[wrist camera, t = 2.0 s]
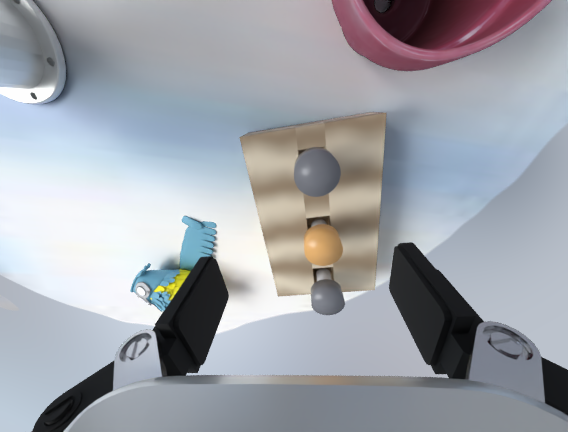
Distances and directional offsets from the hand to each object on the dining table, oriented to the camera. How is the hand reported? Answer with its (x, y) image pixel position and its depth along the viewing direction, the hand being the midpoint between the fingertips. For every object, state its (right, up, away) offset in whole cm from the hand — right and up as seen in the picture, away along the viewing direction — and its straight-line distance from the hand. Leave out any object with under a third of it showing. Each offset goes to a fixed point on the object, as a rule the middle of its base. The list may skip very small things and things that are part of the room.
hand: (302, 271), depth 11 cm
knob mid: (+4, +2, +18) cm, 18 cm away
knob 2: (+5, -6, +22) cm, 23 cm away
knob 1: (+2, +9, +14) cm, 17 cm away
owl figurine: (-20, -9, +31) cm, 38 cm away
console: (+4, +4, +22) cm, 22 cm away
